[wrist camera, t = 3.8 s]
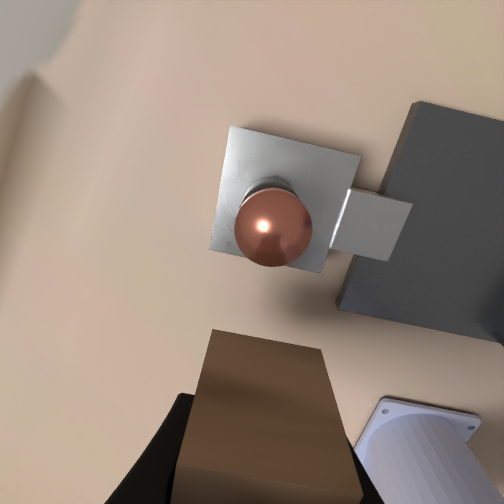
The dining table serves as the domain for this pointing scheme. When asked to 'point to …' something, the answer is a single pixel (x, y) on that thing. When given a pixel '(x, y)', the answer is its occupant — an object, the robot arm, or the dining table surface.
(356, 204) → the ram
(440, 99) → the dining table surface
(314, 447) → the wooden block
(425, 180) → the metal bracket
